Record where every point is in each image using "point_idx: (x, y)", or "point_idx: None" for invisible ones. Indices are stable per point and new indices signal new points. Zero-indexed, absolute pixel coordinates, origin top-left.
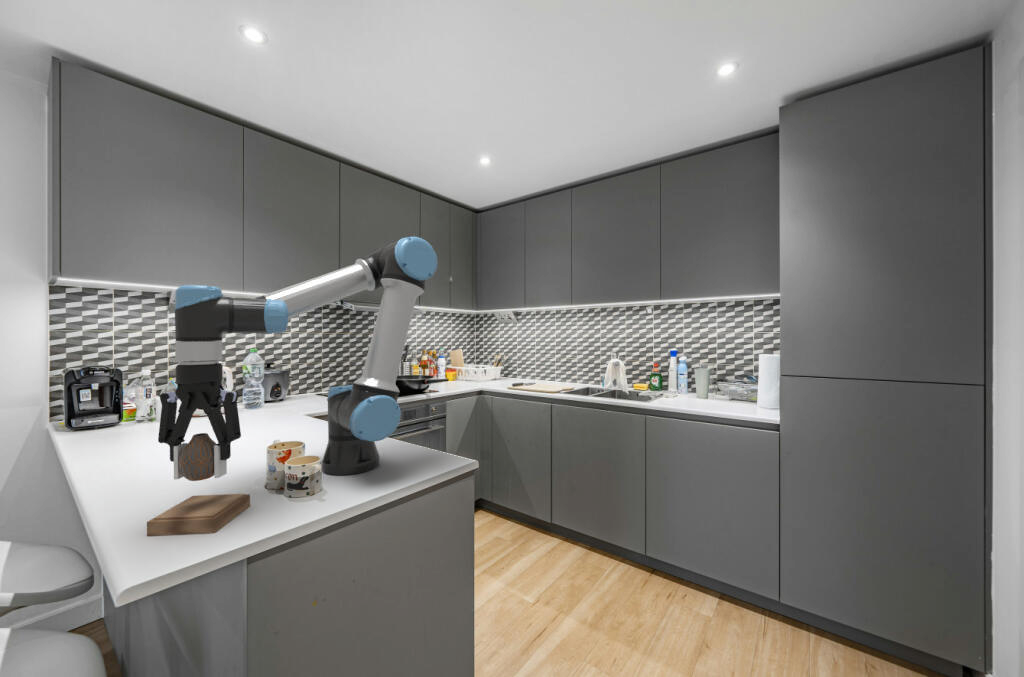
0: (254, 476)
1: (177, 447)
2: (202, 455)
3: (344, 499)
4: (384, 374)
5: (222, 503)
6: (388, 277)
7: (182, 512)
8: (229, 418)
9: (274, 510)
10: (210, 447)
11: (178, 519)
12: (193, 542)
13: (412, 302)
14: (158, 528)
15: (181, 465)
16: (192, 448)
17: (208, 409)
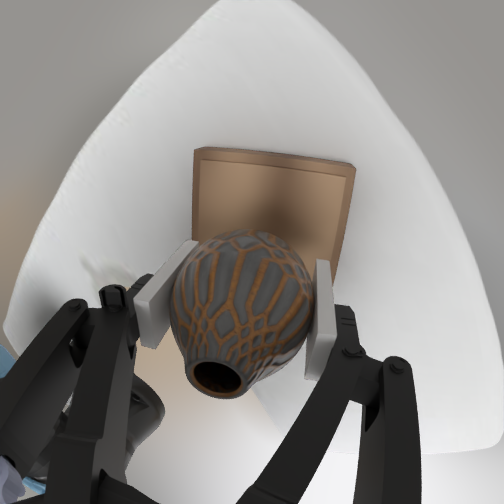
0: (271, 409)
1: (318, 330)
2: (193, 265)
3: (58, 257)
4: None
5: (218, 234)
6: None
7: (290, 196)
8: (19, 367)
9: (141, 238)
10: (173, 308)
11: (284, 165)
12: (227, 109)
13: None
14: (327, 161)
15: (283, 250)
16: (229, 292)
17: (61, 450)
